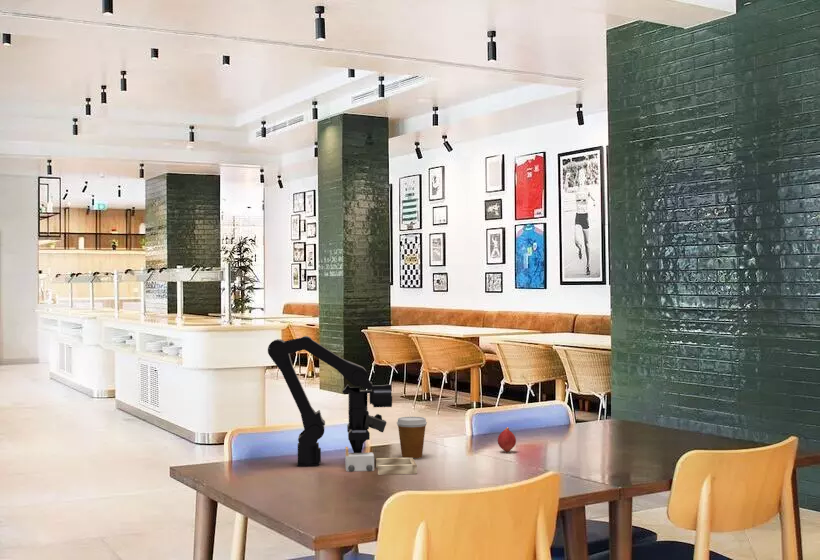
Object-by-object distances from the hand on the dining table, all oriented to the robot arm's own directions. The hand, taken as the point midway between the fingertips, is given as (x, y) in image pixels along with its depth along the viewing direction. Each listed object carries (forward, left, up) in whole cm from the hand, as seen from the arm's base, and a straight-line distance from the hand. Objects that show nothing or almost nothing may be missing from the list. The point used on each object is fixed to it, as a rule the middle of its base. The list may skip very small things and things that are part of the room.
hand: (358, 459), depth 283 cm
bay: (+10, -12, -1) cm, 16 cm away
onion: (+48, +14, -1) cm, 50 cm away
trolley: (0, -9, -1) cm, 9 cm away
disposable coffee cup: (+17, +9, -1) cm, 19 cm away
